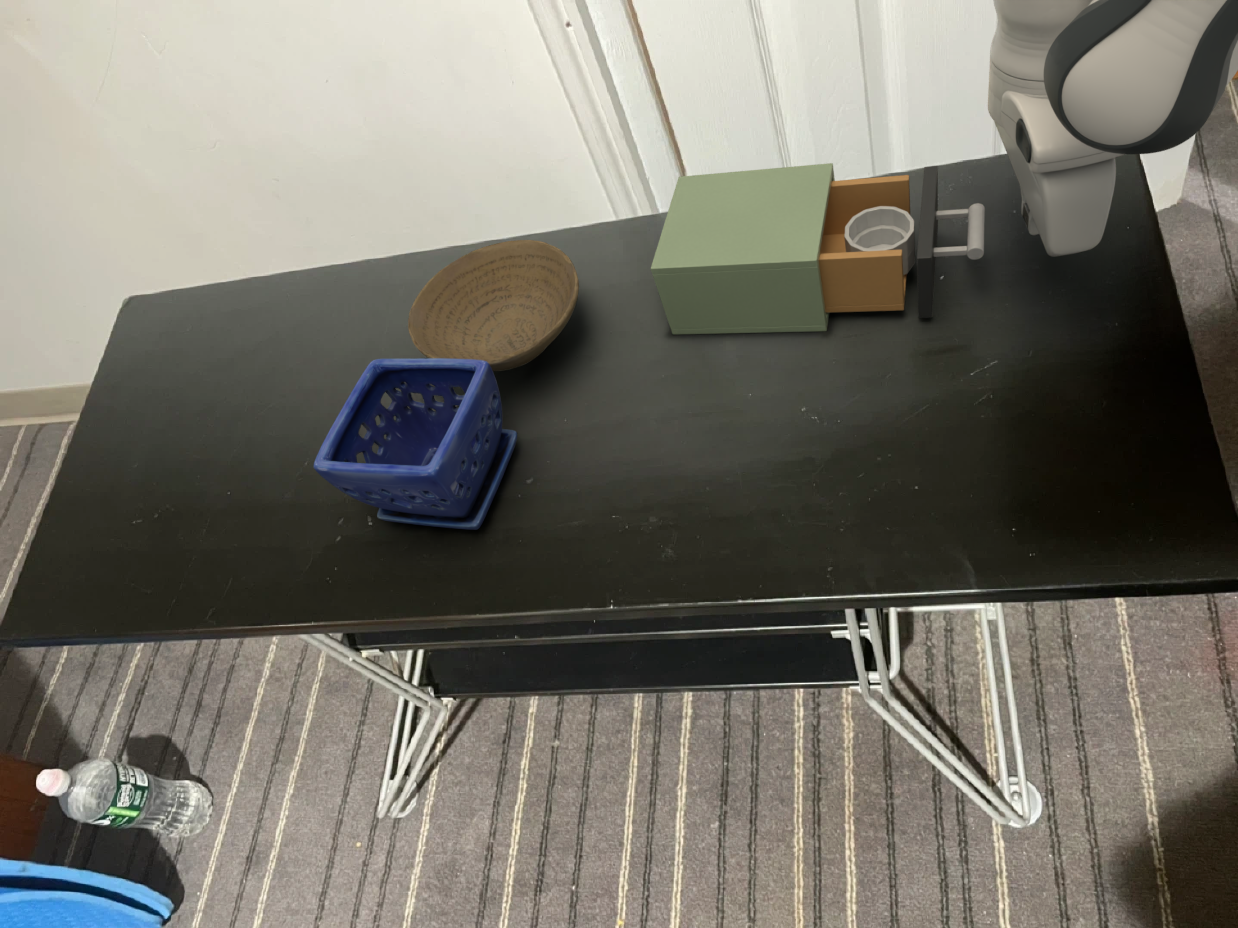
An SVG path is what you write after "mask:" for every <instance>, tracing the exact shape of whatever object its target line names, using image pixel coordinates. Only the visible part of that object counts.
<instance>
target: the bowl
mask: <svg viewBox="0 0 1238 928" xmlns="http://www.w3.org/2000/svg"><path fill="white" fill-rule="evenodd" d="M579 291H580V281H579V276H578V273H577V270H576V267H575V264H574V263H573V261H572V259H570V257H569V256H568V255H567V253H565V252H563V250H562V249H560V248H558V247H557V246H554V245H552V244H549V243H548V242H544V241H541V240H533V239H517V240H516V239H515V240H507V241H502V242H497V243H493V244H489V245H486V246H483V247H480V248H477V249H475V250H472V251H470V252H468V253H467V254H464V255H462V256H461V257H459V258H457V259H456V260H454V261H452V262H450V263H449V264H447V265H446V266H444V267H443V268H442V269H440V270H439V271H438V272H437V273H435V274H434V275H433V276H432V278H430V279H429V280H428V281H427V282H426V284H425V285H424V286H423V287H422V288H421V289H420V291H419V292H418V294H417V296H416V297H415V299H414V301H413V303H412V305H411V308H410V310H409V312H408V319H407V322H408V323H407V330H408V333H409V336H410V338H411V341H412V343H413V345H414V347H415V348H416V349H417V350H418V351H419V352H420V353H421V354H422V355H423V356H424V357H426V359H427V358H447V359H475V360H484V361H487V362H488V363H489V365H490V366H491V368H492V371H493V372H501V371H509V370H513V369H516V368H519V367H521V366H524V365H526V364H528V363H531V362H532V361H534V360H535V359H536V358H537V357H538V356H540V355H541V354H542V353H543V352H544V351H545V350H546V349H547V348H548V347H549V345H551V343H553V341H555V339H556V338H557V337H558V336H559V335H560V333H561V332H563V330H564V328H566V325H567V324H568V322H569V321H570V319H571V318H572V317H571V316H572V315H573V313H574V310H575V308H576V306H577V302H578V298H579Z"/></svg>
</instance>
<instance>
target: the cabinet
mask: <svg viewBox="0 0 1238 928" xmlns="http://www.w3.org/2000/svg"><path fill="white" fill-rule="evenodd" d="M832 181H836V179H835V171H834V163H833V162H829V163H818V164H806V165H796V166H794V165H793V166H786V167H785V166H784V167H772V168H762V169H751V170H739V171H728V172H716V173H706V174H705V173H704V174H695V175H681V176H678V178H677V181H676V184H675V188H674V191H673V194H672V198H671V202H670V204H669V207H668V211H667V214H666V217H665V220H664V224H663V226H662V230H661V233H660V237H659V239H658V243H657V247H656V250H655V252H654V256H653V259H652V262H651V266H650V271H651V274H652V278H653V281H654V285H655V286H656V289H657V292H658V295H659V298H660V301H661V304H662V307H663V310H664V313H665V316H666V319H667V323H668V325H669V329H670V331H671V334H672V335H712V334H713V335H715V334H754V333H755V334H759V333H761V334H762V333H802V332H804V333H805V332H810V333H811V332H827V331H828V325H829V319H830V318H829V317H830V312H828V313H826V311H825V304H824V296H823V289H822V282H821V275H820V268H819V262H818V261H819V255H820V249H821V243H822V236H823V230H824V224H825V218H826V212H827V206H828V200H829V194H830V188H831V182H832Z"/></svg>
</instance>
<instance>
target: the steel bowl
mask: <svg viewBox="0 0 1238 928" xmlns="http://www.w3.org/2000/svg"><path fill="white" fill-rule="evenodd" d="M915 232H916V231H915V219H914V218H913V216H912V215H911V213H910V214H909V213H908V212H907V211H904V210H902V209H899V208H897V207H890V206H878V207H874V208H870V209H866V210H864V211H862V212H860V213H858V214H857V215H855V216H853V217H852V218H851V220H850V221H849V222H848V224H847V225H846V226H845V235H844V238H845V247H846V252H863V251H882V250H900V249H902V256H903V276H904V275H905V274H907V275H908V273H910V271H911V269H912V268H913V266H914V265H915V264H916V237H915V235H916V233H915Z"/></svg>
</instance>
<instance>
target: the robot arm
mask: <svg viewBox="0 0 1238 928" xmlns="http://www.w3.org/2000/svg"><path fill="white" fill-rule="evenodd" d="M993 6H994V10H995V13H996V18H997V19H996V20H997V22H996V29H995V32H994V34H993V37H992V40H991V44H990V51H989V67H988V68H989V69H988V88H987V89H988V90H987V111H988V114H989V116H990V118H991V119H992V120H993V122H994V125H995V128H996V130H997V132H998V135H999V137H1000V139H1001V143H1002V144H1003V147H1004V150H1005V152H1006V154H1007V156H1008V159H1009V163H1010V165H1011V167H1012V169H1013V173H1014V175H1015V177H1016V179H1017V181H1018V184H1019V185H1018V186H1019V190H1020V197H1021V207H1020V213H1021V216H1022V219H1023V221H1024V223H1025V225H1026V228H1027V231H1028V233H1029V234H1030V236H1031V235H1032V236H1036V235H1039V237H1040V240H1041V242H1042V244H1043V247H1044V250H1045V252H1046V254H1047V255H1048V256H1050V257H1061V256H1068V255H1074V254H1078V253H1081V252H1087V251H1090V250H1092V249H1094V248H1095V247H1096V246H1098V245H1099V244H1100V243H1101V241H1102V238H1103V237H1104V233H1105V229H1106V227H1107V223H1108V219H1109V214H1110V210H1111V206H1112V200H1113V196H1114V191H1115V186H1116V179H1117V177H1116V176H1117V165H1116V158H1118V157H1123V156H1124V155H1149V154H1156V153H1160V152H1165V151H1168V150H1170V149H1171V150H1172V149H1174V148H1175V147H1178V146H1180V145H1182V144H1184V143H1185V142H1187V141H1188V140H1190V139H1192V137H1193V136H1195V135H1196V134H1197V133H1198V132H1199V131H1200V130H1201V129H1202V128H1203V127H1204V125H1205V124H1206V123H1207V121H1208V120H1209V118H1210V116H1211V114H1212V113H1213V111H1214V110H1215V108H1216V107H1217V106H1218V103H1219V102H1220V100H1221V99H1222V97H1223V95H1224V93H1225V90H1226V88H1227V86H1228V85H1229V84H1230V83H1231V81H1232V79H1233V78H1234V77H1235V76H1236V73H1238V0H993Z"/></svg>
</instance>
